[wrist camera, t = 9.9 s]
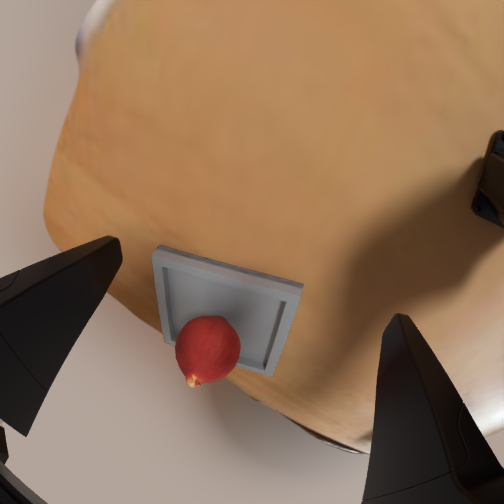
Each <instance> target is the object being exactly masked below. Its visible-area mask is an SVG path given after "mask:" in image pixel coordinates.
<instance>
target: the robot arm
mask: <svg viewBox="0 0 504 504" xmlns="http://www.w3.org/2000/svg"><path fill="white" fill-rule="evenodd" d="M502 135H504V131H503V130H499V131H498V132H497V134H496V137H495V141H494V144H493V148H492V151H491V154H490V155H489V158H488V161H487V164H486V167H485V169H484V172H483V175H482V178H481V181H480V183H479V188H478V191H477V193H476V196H475V198H474V201H473V203H472V206H471V208H472V211H473V212H474V213H475V214H476V215H478V216H480V217H482V218H484V219H486V220H489V221H491V222H493V223H495V224H497V225H499V226H501V227H503V228H504V139H503V140H502ZM477 206H480V207H479V209H477V210H476V208H477ZM122 260H123V257H122V251H121V245H120V241H119V239H118V238H116V237H113V236H105V237H102V238H99V239H96V240H94V241H91V242H88V243H86V244H83V245H80V246H78V247H75V248H72V249H70V250H67V251H65V252H62V253H59V254H57V255H54V256H52V257H49V258H47V259H45V260H42V261H40V262H37V263H35V264H32V265H30V266H28V267H25V268H23V269H21V270H18V271H16V272H14V273H11V274H9V275H6V276H4V277H2V278H0V504H47V503H46V502H45V501H44V500H43V499H41V498H40V497H39V496H38V495H37V494H35V493H34V492H33V491H32V490H31V489H29V488H28V487H27V486H26V485H25V484H24V483H23V482H22V481H20V480H19V479H18V478H17V477H16V476H15V475H14V474H13V473H12V472H11V471H10V470H9V469H8V468H7V467H6V466H5V463H6V461H7V459H8V457H9V456H8V450H7V444H6V437H5V430H4V428H3V427H2V426H1V424H2V423H3V421H4V422H5V423H7V424H8V425H9V426H11V427H12V428H13V429H15V430H16V431H18V432H19V433H21V434H22V435H23V436H25V437H26V436H27V435H28V433H29V431H30V429H31V426H32V424H33V422H34V420H35V418H36V415H37V413H38V411H39V409H40V407H41V405H42V403H43V401H44V399H45V397H46V395H47V393H48V391H49V389H50V387H51V385H52V383H53V381H54V379H55V377H56V375H57V374H58V372H59V370H60V368H61V367H62V365H63V363H64V361H65V359H66V358H67V356H68V354H69V352H70V351H71V349H72V347H73V346H74V344H75V342H76V340H77V339H78V337H79V335H80V334H81V332H82V330H83V329H84V327H85V326H86V324H87V322H88V320H89V319H90V318H91V316H92V315H93V313H94V311H95V310H96V308H97V307H98V305H99V304H100V302H101V300H102V299H103V297H104V295H105V294H106V292H107V290H108V288H109V286H110V284H111V282H112V280H113V279H114V277H115V275H116V273H117V271H118V270H119V268H120V266H121V264H122ZM362 500H363V501H362V503H361V504H504V468H503V467H502V466H501V465H500V463H499V462H498V460H497V458H496V456H495V455H494V453H493V451H492V450H491V448H490V446H489V445H488V443H487V441H486V440H485V438H484V437H483V435H482V433H481V432H480V430H479V428H478V427H477V425H476V423H475V421H474V420H473V418H472V416H471V414H470V413H469V411H468V409H467V407H466V405H465V404H464V403H463V400H462V398H461V397H460V395H459V393H458V392H457V390H456V388H455V386H454V385H453V383H452V381H451V380H450V378H449V376H448V375H447V373H446V372H445V370H444V368H443V367H442V365H441V363H440V362H439V360H438V359H437V357H436V356H435V354H434V353H433V351H432V349H431V348H430V346H429V345H428V343H427V342H426V340H425V339H424V337H423V336H422V334H421V333H420V331H419V330H418V329H417V327H416V326H415V324H414V323H413V321H412V320H411V318H410V317H409V316H408V315H404V314H400V313H397V314H395V315H394V316H393V318H392V319H391V321H390V322H389V324H388V326H387V327H386V329H385V330H384V332H383V336H382V343H381V352H380V360H379V367H378V374H377V384H376V400H375V414H374V425H373V435H372V444H371V451H370V459H369V466H368V472H367V478H366V484H365V489H364V494H363V499H362Z"/></svg>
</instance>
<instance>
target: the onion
mask: <svg viewBox="0 0 504 504" xmlns="http://www.w3.org/2000/svg"><path fill="white" fill-rule="evenodd" d="M240 350H241V343H240V339H239V337H238V334H237V332H236V331H235V330H234V328H233V327H232V326H231V325H230V324H229V323H228V322H227V320H226V319H225V318H223V317H221V316H201V317H197V318H194V319H192V320H190V321H188V322H187V323H186V324H185V325H184V327H183V328H182V329H181V331H180V332H179V334H178V337H177V339H176V344H175V351H176V359H177V362H178V364H179V367H180V369H181V371H182V372H183V374H184V375H185V377H186V381H187V384H188V385H189V386H190V387H197V386H200V385H201V384H200V383H210V382H214V381H217V380H220V379H222V378H224V377H225V376H226V375H227V374H229V373H230V372H231V371H232V370H233V368H234V367H235V366H236V364H237V362H238V360H239V356H240Z"/></svg>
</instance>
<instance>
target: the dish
mask: <svg viewBox="0 0 504 504" xmlns="http://www.w3.org/2000/svg"><path fill="white" fill-rule="evenodd" d="M151 256H152V265H153V273H154V281H155V288H156V296H157V302H158V309H159V315H160V321H161V327H162V332H163V338H164V342H165V343H167V344H170V345H172V346H175V344H176V339H177V337H178V334H179V332H180V331H181V329H182V328H183V327H184V325H185V324H186V323H187V322H188V321H190V320H192V319H194V318H197V317H201V316H221V317H223V318H225V319H226V320H227V322H228V323H229V324H230V325H231V326H232V327H233V328H234V330H235V331H236V332H237V334H238V337H239V339H240V343H241V350H240V356H239V360H238V362H237V364H236V366H235V367H238V368H241V369H245V370H248V371H252V372H255V373H259V374H262V375H266V376H270V377H272V376H273V374H274V371H275V368H276V366H277V363H278V361H279V358H280V355H281V353H282V350H283V347H284V344H285V342H286V339H287V336H288V333H289V331H290V328H291V325H292V322H293V319H294V316H295V314H296V311H297V308H298V305H299V302H300V299H301V296H302V290H303V285H304V284H301V283H298V282H294V281H290V280H286V279H282V278H278V277H275V276H271V275H267V274H263V273H259V272H256V271H252V270H248V269H245V268H241V267H237V266H233V265H230V264H226V263H222V262H219V261H215V260H211V259H208V258H204V257H200V256H197V255H193V254H190V253H186V252H182V251H179V250H175V249H172V248H168V247H165V246H161V245H159V246H158V247H157V249H156V250H155V251H154V252H153V253H152V254H151Z"/></svg>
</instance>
